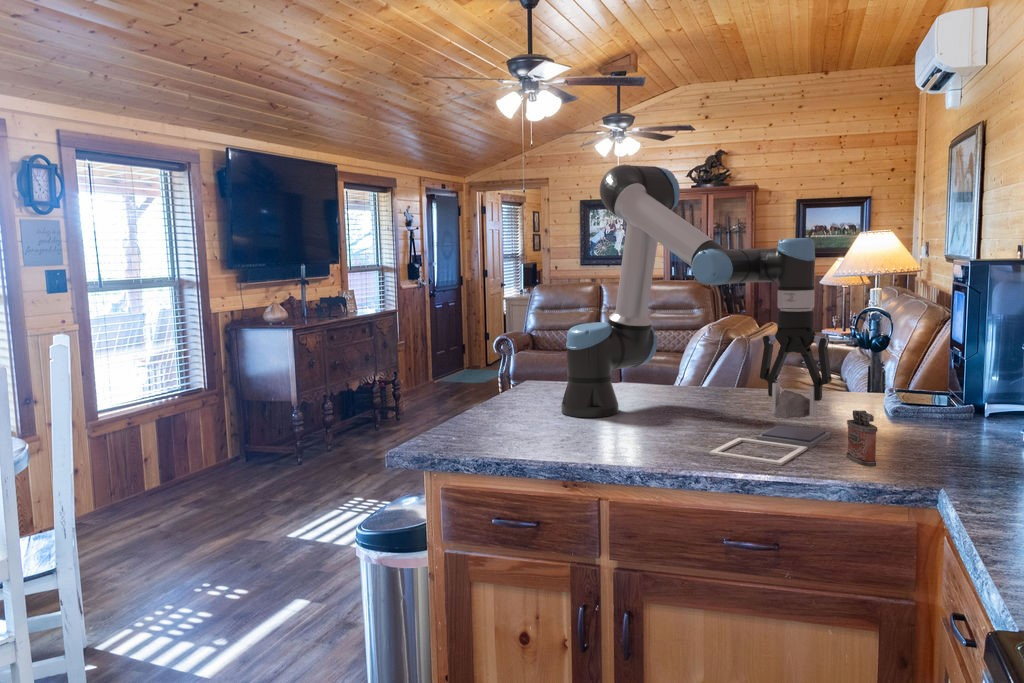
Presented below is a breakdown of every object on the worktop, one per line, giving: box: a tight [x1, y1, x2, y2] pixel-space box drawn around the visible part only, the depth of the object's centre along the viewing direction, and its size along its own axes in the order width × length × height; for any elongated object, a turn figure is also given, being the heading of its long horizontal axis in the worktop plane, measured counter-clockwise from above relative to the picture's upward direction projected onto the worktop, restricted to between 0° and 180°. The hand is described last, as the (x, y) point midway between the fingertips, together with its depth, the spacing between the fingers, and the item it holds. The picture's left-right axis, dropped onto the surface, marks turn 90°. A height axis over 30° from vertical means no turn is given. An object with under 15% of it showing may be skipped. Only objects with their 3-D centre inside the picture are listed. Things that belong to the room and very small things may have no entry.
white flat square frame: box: [708, 437, 809, 466], centre depth 159 cm, size 15×15×1 cm
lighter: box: [845, 409, 878, 468], centre depth 149 cm, size 8×3×10 cm, turn 5°
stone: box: [773, 389, 810, 420], centre depth 168 cm, size 10×8×6 cm
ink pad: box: [756, 424, 831, 449], centre depth 169 cm, size 12×12×1 cm
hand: (794, 413), depth 168 cm, fingers closed on stone, 7 cm apart
